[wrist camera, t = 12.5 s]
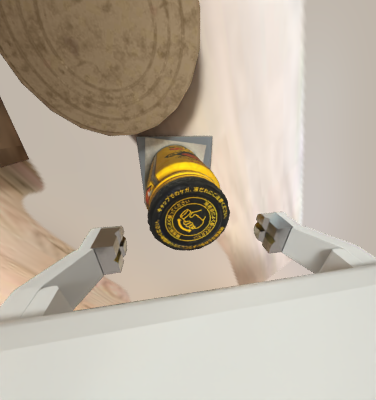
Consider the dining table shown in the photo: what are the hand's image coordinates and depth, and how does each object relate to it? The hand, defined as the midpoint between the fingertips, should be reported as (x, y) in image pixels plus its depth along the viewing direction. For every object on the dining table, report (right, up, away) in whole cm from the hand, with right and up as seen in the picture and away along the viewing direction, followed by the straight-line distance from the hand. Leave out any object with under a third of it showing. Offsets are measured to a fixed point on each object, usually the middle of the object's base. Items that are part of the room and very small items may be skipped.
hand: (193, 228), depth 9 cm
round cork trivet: (-8, +17, +5) cm, 19 cm away
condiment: (-2, +5, +11) cm, 13 cm away
